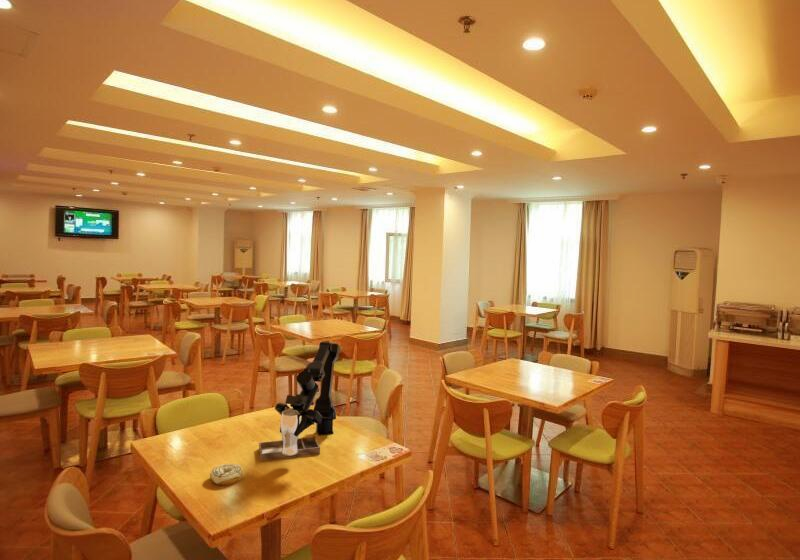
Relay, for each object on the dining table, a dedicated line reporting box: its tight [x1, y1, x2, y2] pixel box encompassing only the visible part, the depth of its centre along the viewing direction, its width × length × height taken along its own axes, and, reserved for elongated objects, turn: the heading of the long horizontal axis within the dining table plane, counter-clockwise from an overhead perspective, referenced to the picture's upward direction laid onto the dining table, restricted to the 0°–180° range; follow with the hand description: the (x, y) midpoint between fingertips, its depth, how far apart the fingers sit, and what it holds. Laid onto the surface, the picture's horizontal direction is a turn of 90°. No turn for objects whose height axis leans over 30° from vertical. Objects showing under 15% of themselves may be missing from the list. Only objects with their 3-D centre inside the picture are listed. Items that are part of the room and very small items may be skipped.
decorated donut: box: [209, 463, 243, 486], centre depth 160 cm, size 10×11×4 cm
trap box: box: [258, 436, 321, 462], centre depth 183 cm, size 22×11×2 cm, turn 109°
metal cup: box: [280, 409, 301, 456], centre depth 170 cm, size 7×7×15 cm
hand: (288, 434), depth 169 cm, fingers closed on metal cup, 6 cm apart
